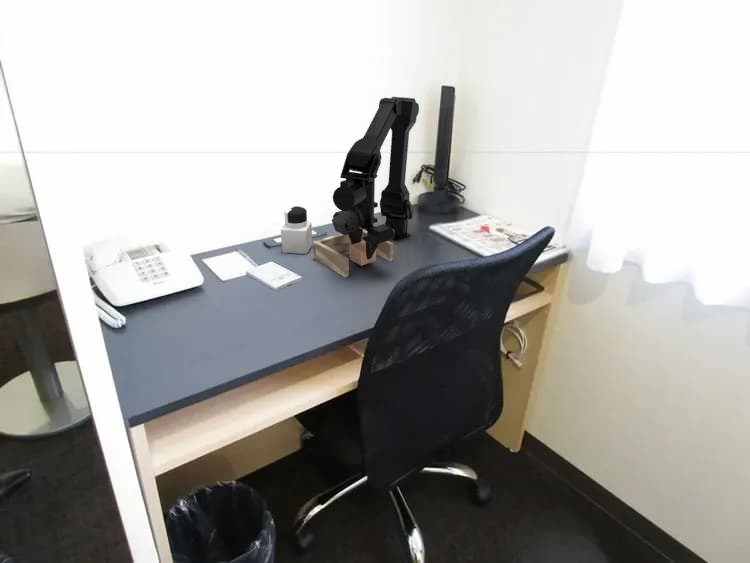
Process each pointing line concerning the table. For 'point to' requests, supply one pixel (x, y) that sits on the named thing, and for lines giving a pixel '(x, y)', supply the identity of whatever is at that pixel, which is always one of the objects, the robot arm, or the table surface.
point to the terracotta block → (360, 253)
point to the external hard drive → (273, 275)
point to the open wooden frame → (332, 246)
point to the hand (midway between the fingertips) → (362, 255)
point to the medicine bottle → (296, 231)
